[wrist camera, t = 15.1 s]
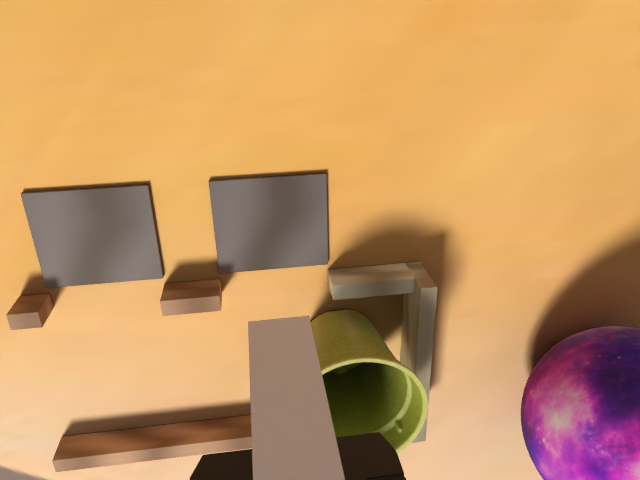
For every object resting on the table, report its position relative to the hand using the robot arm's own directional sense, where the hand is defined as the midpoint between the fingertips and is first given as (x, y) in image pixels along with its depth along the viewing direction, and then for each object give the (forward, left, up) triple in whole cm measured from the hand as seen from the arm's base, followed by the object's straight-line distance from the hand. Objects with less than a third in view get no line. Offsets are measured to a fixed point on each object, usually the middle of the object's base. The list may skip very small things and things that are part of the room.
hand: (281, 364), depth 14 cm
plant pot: (+13, -12, -25) cm, 30 cm away
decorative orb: (+34, -6, -25) cm, 42 cm away
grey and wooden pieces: (+5, -13, -24) cm, 28 cm away
